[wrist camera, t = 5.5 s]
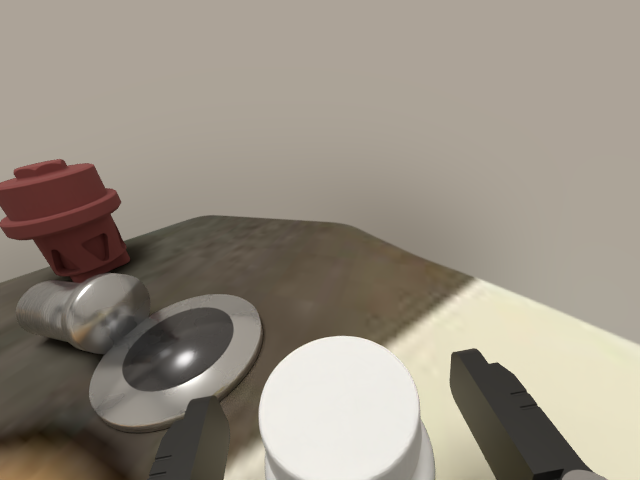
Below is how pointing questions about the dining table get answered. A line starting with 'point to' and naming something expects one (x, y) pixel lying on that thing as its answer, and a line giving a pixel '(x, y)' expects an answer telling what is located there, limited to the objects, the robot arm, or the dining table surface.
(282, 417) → the supplement bottle
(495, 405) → the robot arm
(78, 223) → the mechanical component
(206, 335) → the flange fitting
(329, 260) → the dining table surface
